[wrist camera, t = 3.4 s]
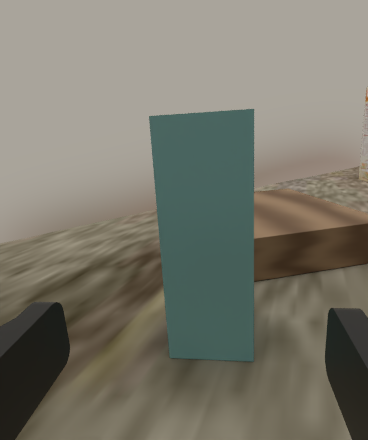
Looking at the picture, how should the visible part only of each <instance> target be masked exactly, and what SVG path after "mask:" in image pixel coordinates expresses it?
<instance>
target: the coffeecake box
mask: <svg viewBox="0 0 368 440" xmlns="http://www.w3.org/2000/svg"><path fill="white" fill-rule="evenodd" d="M359 180H360V181H364V182H368V87H367V90H366V102H365V114H364V126H363V137H362V148H361V160H360V171H359Z"/></svg>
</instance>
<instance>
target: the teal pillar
mask: <svg viewBox="0 0 368 440" xmlns="http://www.w3.org/2000/svg"><path fill="white" fill-rule="evenodd" d="M149 120H150V132H151V144H152V155H153V167H154V179H155V190H156V203H157V214H158V226H159V238H160V249H161V261H162V273H163V285H164V296H165V308H166V320H167V332H168V343H169V355H170V358H182V359H205V360H227V361H250V362H254V109H246V110H232V111H218V112H204V113H188V114H175V115H159V116H149Z"/></svg>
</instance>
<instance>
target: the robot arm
mask: <svg viewBox="0 0 368 440" xmlns="http://www.w3.org/2000/svg"><path fill="white" fill-rule="evenodd" d="M69 352H70V344H69V338H68V333H67V327H66V322H65V317H64V311H63V308H62V305H61V304H60V303H58V302H34V303H32V304H31V305H30V306H28V307H27V308H26V309H25V310H24V311H23V312H22V313H21V314H20V315H19V316H17V317H16V318H15V319H13V320H11V321H9V322H7V323H6V324H4V325H2V326H0V440H15V439H16V437H17V436H18V434H19V433H20V432H21V430H22V429H23V427H24V426H25V424H26V423H27V421H28V420H29V418H30V417H31V415H32V414H33V412H34V411H35V409H36V408H37V407H38V405H39V404H40V402H41V401H42V399H43V398H44V396H45V395H46V393H47V392H48V390H49V389H50V387H51V386H52V384H53V383H54V382H55V380H56V379H57V377H58V376H59V374H60V373H61V371H62V370H63V368H64V367H65V365H66V363H67V361H68V357H69ZM325 364H326V371H327V376H328V379H329V382H330V384H331V387H332V389H333V392H334V395H335V397H336V400H337V402H338V405H339V407H340V410H341V412H342V415H343V418H344V420H345V423H346V425H347V428H348V430H349V433H350V435H351V438H352V440H368V318H367V316H366V315H365V313H364V312H363V311H362V310H361V309H350V308H331V309H330V310H329V313H328V323H327V337H326V350H325Z"/></svg>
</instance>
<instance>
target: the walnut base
mask: <svg viewBox="0 0 368 440" xmlns="http://www.w3.org/2000/svg"><path fill="white" fill-rule="evenodd" d="M366 263H368V214H367V213H364V212H360V211H357V210H354V209H351V208H348V207H345V206H341V205H338V204H335V203H332V202H329V201H326V200H322V199H319V198H316V197H313V196H310V195H307V194H304V193H300V192H297V191H294V190H291V189H279V190H269V191H260V192H254V281H260V280H266V279H272V278H279V277H285V276H291V275H297V274H304V273H310V272H316V271H322V270H328V269H335V268H341V267H347V266H353V265H359V264H366Z"/></svg>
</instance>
